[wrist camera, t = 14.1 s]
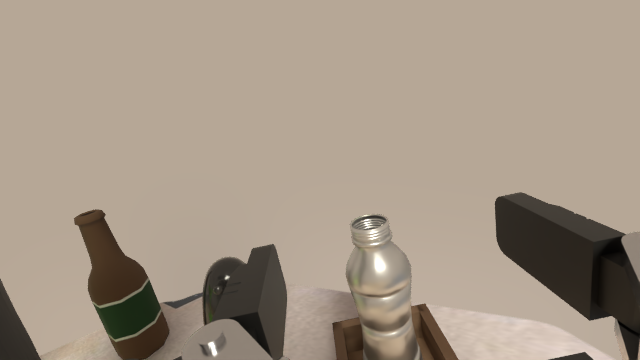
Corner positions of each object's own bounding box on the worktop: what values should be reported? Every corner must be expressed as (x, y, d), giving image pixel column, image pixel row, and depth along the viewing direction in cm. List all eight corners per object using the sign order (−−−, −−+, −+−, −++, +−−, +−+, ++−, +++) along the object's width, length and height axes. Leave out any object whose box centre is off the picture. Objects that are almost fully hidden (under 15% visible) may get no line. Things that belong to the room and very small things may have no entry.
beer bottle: (173, 345, 49) (117, 209, 42) (118, 374, 45) (47, 230, 39) (168, 320, 55) (119, 199, 49) (120, 343, 52) (60, 216, 45)
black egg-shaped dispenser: (209, 392, 39) (170, 293, 35) (222, 333, 49) (193, 251, 45) (286, 370, 40) (257, 271, 36) (284, 316, 50) (261, 234, 46)
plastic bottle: (358, 369, 37) (326, 220, 31) (407, 348, 38) (384, 202, 33) (382, 420, 31) (347, 246, 25) (439, 393, 32) (418, 223, 27)
